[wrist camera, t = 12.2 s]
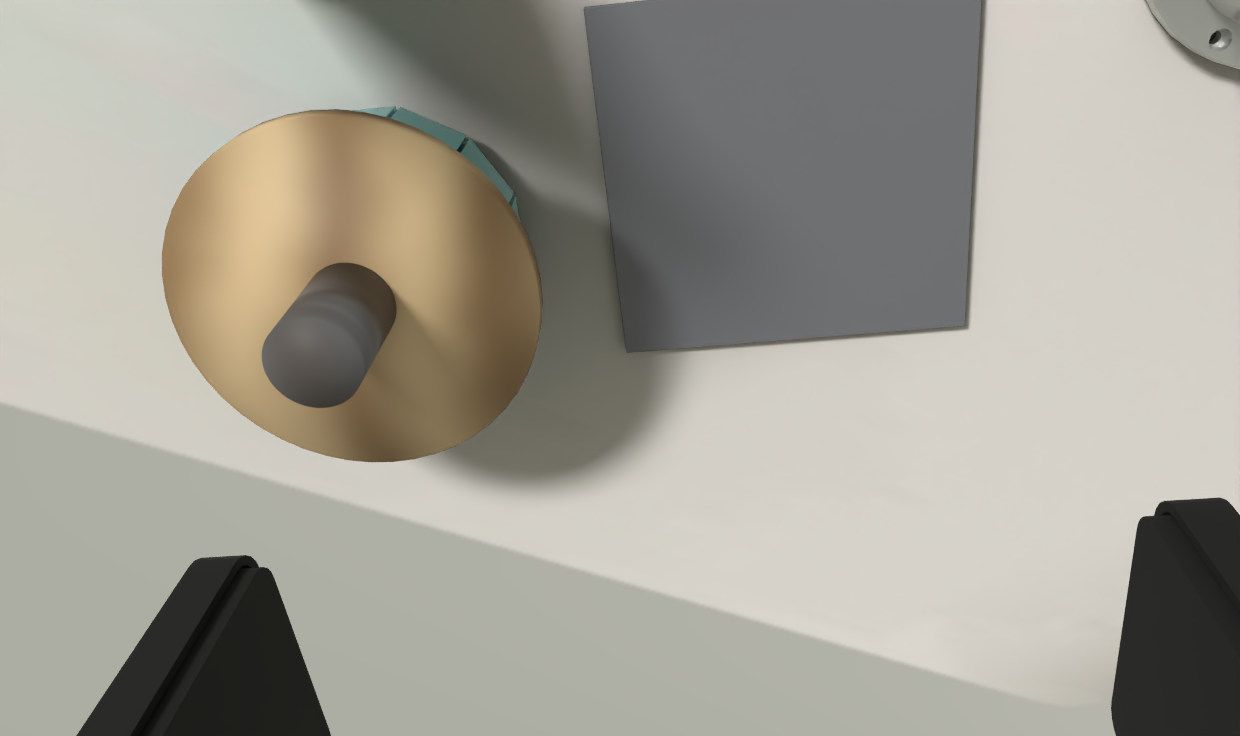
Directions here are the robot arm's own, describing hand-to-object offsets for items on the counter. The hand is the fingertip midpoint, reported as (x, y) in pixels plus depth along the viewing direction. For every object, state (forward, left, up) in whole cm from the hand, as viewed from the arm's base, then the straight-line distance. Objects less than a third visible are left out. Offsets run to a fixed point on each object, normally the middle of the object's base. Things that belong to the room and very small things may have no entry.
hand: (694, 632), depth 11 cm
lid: (+14, +8, -29) cm, 33 cm away
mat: (-4, +7, -36) cm, 37 cm away
